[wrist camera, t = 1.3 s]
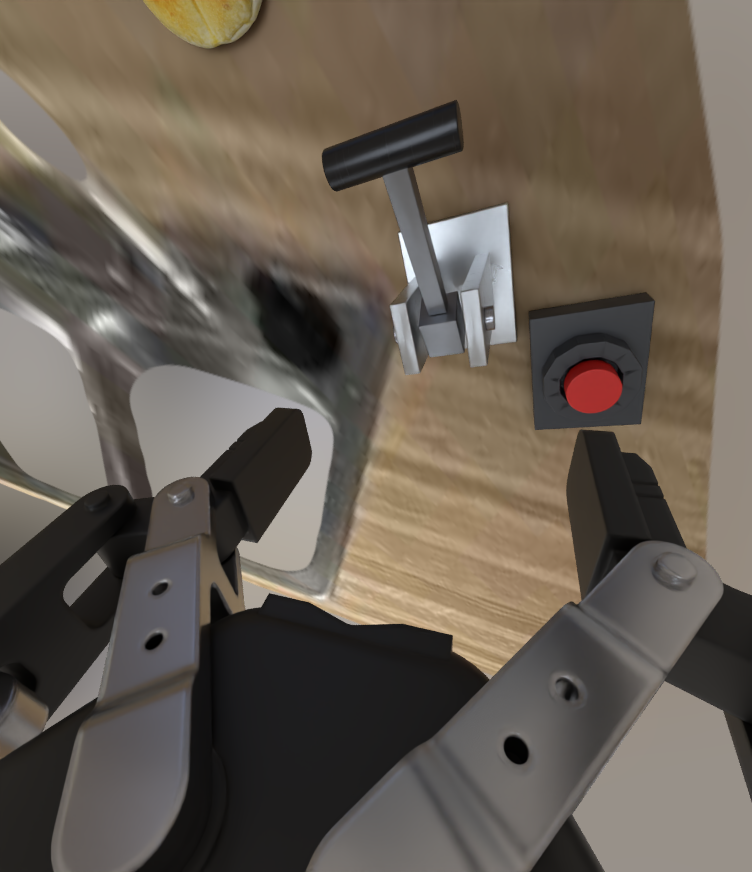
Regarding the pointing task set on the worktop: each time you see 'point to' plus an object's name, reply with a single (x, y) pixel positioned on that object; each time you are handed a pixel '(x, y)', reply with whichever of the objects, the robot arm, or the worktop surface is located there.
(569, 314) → the button block
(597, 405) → the button
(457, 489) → the worktop surface
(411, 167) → the press lever
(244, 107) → the worktop surface
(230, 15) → the bread roll
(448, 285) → the lever bracket
